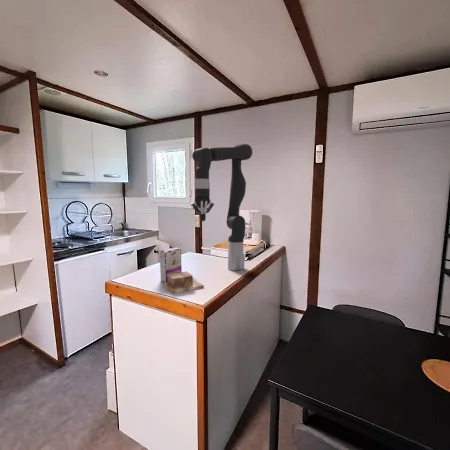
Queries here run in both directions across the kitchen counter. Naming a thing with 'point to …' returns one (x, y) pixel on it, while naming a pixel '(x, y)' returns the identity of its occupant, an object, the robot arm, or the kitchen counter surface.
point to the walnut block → (180, 280)
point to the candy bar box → (170, 262)
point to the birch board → (195, 286)
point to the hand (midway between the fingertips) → (202, 221)
